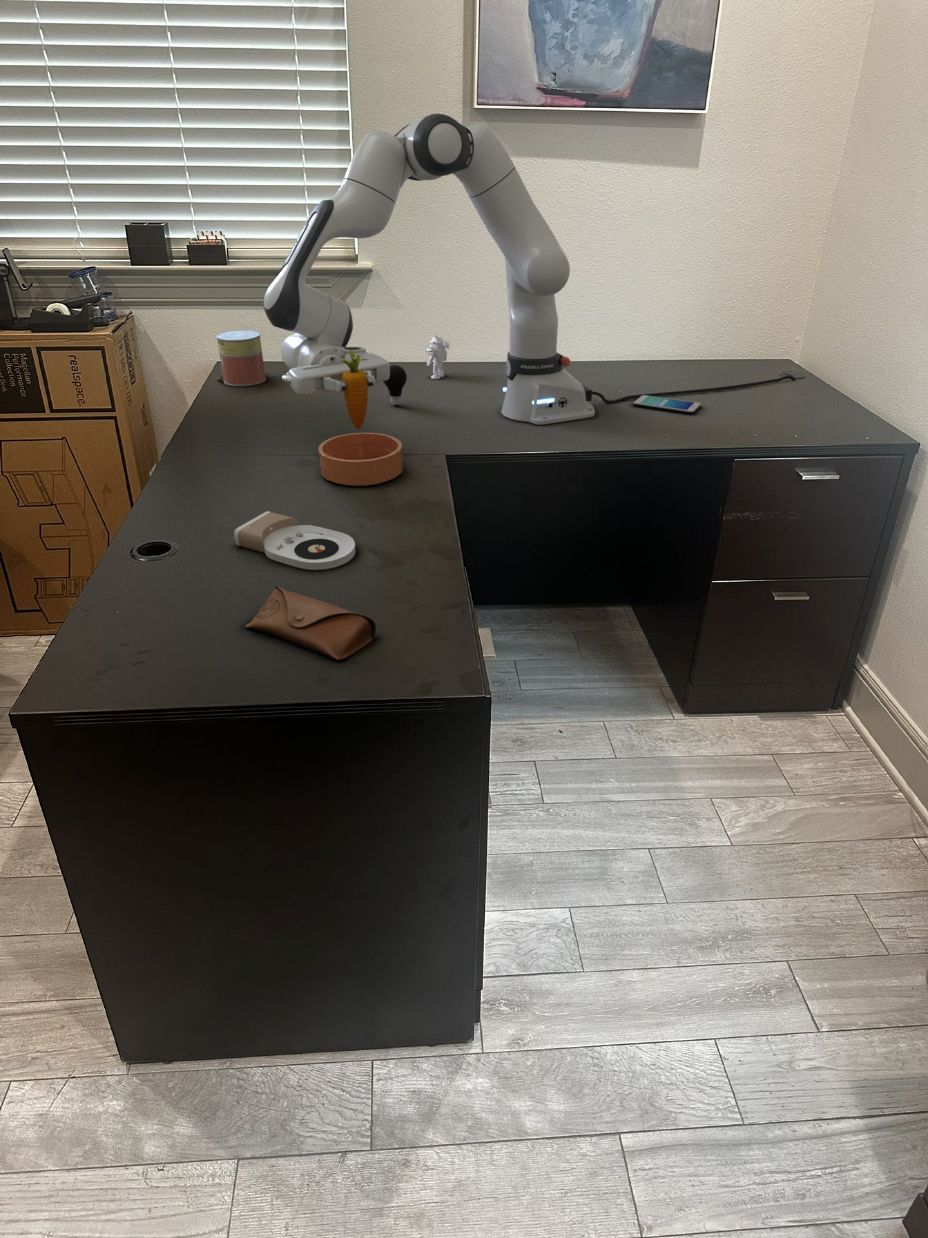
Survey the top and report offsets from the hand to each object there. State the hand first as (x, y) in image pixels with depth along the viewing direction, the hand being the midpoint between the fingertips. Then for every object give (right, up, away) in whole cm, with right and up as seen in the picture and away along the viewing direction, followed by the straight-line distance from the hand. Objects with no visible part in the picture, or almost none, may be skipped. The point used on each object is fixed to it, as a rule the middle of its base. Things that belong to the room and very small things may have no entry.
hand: (357, 384), depth 160 cm
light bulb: (+4, +8, +47) cm, 48 cm away
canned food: (-39, +20, +68) cm, 81 cm away
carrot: (0, -7, +6) cm, 9 cm away
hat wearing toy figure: (+13, +21, +69) cm, 74 cm away
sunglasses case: (-1, -47, -41) cm, 63 cm away
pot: (0, -15, +10) cm, 18 cm away
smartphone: (+70, +7, +46) cm, 84 cm away
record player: (-7, -33, -19) cm, 39 cm away
